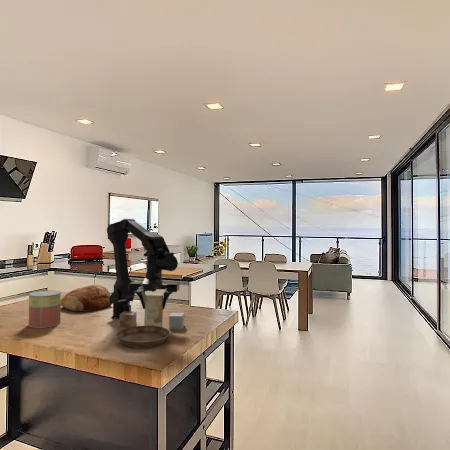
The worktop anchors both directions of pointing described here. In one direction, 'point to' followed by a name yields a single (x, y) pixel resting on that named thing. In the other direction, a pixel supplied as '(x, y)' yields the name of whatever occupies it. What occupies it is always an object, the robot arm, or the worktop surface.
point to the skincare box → (153, 310)
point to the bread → (87, 299)
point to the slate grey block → (176, 320)
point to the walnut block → (127, 319)
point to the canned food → (44, 309)
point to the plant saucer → (142, 336)
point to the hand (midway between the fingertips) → (153, 309)
